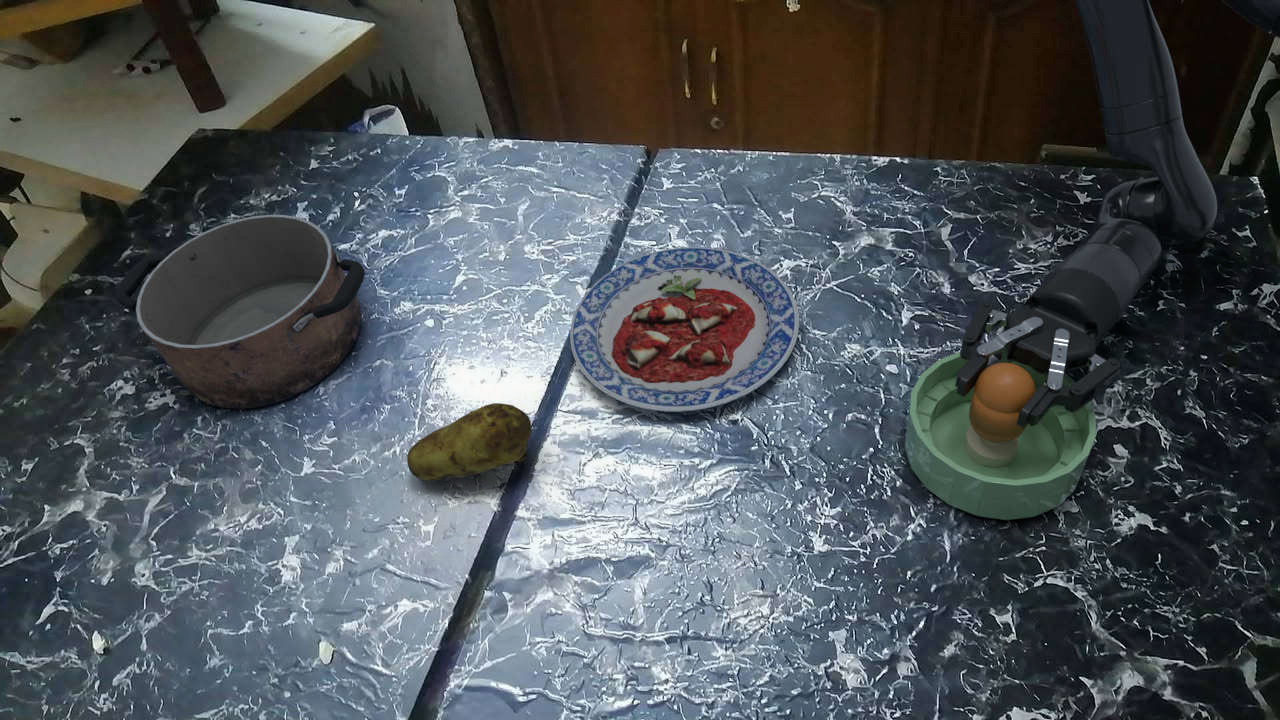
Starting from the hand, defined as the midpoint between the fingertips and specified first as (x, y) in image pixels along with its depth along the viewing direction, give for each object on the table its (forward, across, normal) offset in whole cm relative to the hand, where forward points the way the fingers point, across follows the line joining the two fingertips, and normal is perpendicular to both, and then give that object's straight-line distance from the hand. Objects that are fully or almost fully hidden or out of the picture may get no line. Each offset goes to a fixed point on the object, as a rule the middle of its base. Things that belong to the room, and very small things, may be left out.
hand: (991, 404), depth 82 cm
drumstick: (-3, 0, +9) cm, 9 cm away
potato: (+31, -39, +10) cm, 51 cm away
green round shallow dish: (-3, 0, +10) cm, 10 cm away
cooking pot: (+35, -74, +10) cm, 83 cm away
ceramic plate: (+4, -34, +10) cm, 36 cm away
